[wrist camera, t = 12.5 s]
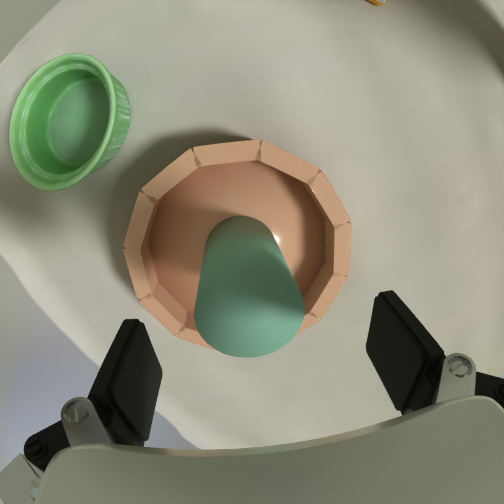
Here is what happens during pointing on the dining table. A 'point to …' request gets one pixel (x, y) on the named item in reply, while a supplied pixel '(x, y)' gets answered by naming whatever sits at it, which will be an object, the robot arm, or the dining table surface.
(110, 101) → the ramekin
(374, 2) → the supplement box
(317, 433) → the dining table surface
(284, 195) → the round dish
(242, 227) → the teal tapered rounded piece
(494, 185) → the dining table surface
